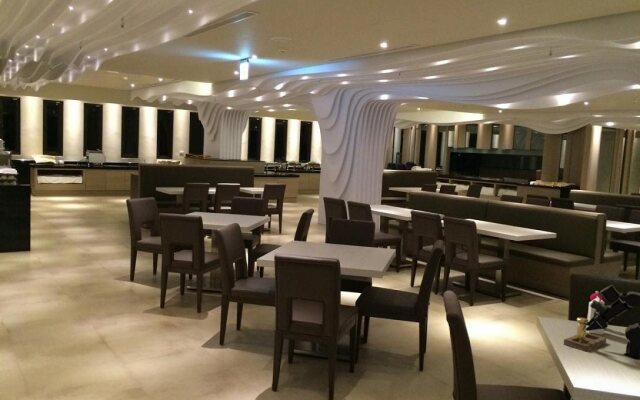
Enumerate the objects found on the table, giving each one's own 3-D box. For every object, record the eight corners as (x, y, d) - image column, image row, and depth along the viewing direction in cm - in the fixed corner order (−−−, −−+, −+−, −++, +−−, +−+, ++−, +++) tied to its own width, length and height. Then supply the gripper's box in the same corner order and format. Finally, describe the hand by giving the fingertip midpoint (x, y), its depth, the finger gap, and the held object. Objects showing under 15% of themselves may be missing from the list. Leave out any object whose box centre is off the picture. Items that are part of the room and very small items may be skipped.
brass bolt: (587, 347, 266) (590, 320, 265) (580, 348, 264) (583, 321, 263) (579, 343, 270) (581, 317, 269) (572, 344, 268) (574, 318, 267)
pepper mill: (597, 324, 305) (601, 289, 303) (602, 328, 298) (606, 293, 296) (584, 323, 306) (587, 288, 304) (589, 327, 298) (593, 292, 297)
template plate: (584, 336, 282) (584, 331, 282) (605, 343, 273) (606, 338, 273) (563, 344, 268) (564, 339, 268) (586, 351, 259) (586, 346, 259)
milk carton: (588, 333, 288) (592, 298, 287) (586, 329, 295) (589, 295, 293) (603, 335, 286) (607, 300, 285) (600, 331, 293) (604, 296, 291)
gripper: (602, 292, 270) (575, 309, 276) (602, 300, 253) (573, 318, 259) (618, 310, 267) (591, 327, 273) (619, 320, 250) (590, 338, 256)
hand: (586, 327), depth 265 cm, fingers open, 9 cm apart
